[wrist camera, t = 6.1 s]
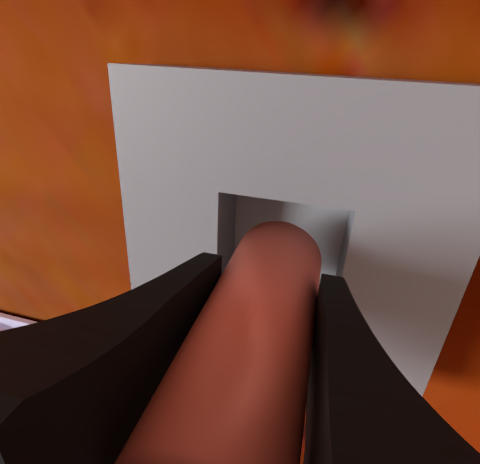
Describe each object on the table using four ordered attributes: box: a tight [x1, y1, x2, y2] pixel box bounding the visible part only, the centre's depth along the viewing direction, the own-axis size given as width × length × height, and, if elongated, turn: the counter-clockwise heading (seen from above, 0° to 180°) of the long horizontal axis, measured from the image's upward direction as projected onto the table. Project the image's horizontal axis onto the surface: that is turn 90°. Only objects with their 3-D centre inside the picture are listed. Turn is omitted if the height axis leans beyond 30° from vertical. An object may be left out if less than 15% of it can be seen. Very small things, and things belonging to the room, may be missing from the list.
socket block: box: [107, 63, 480, 396], centre depth 14 cm, size 12×12×3 cm
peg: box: [114, 221, 322, 464], centre depth 9 cm, size 3×3×8 cm
